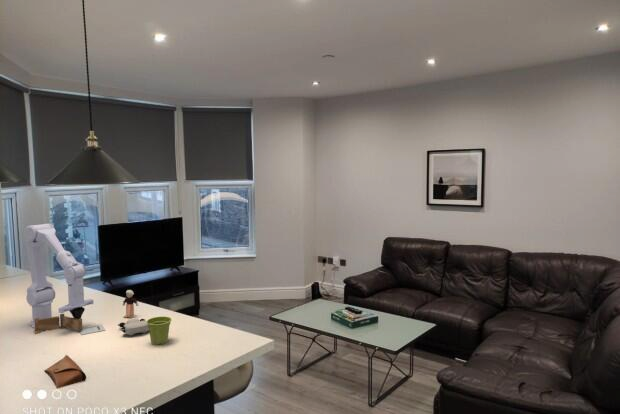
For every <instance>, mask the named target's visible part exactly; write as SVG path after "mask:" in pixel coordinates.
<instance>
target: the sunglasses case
mask: <svg viewBox="0 0 620 414" xmlns="http://www.w3.org/2000/svg"><path fill="white" fill-rule="evenodd" d="M43 371H44V373H46V374H47V375H48V376H49V377H50V378H51V380H52V381H53V383H54V384H55V387H56V389H61V388H65V387H68V386H71V385H75V384H78V383H82V382H85V381H86V379H87V375H86V373H85V372H84V371H83V369H82V368H81V367H80V366H79V365H78V364H77V363H76V362H75V360H73V359H72V358H71V357H70V356H69V355H67V354H65V355H64V357H62V358H61V359H60V360H58V361H57V362H55V363H54V364H52V365H51V366H48V367H47V368H46V369H45V370H44V369H43Z"/></svg>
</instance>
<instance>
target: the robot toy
mask: <svg viewBox="0 0 620 414" xmlns="http://www.w3.org/2000/svg"><path fill="white" fill-rule="evenodd" d="M146 321H147V320H146V318H141V319H139V318H135V317H134V318H129V319H128V320H126V321H125V322H119V323H117V327H120V328H121V329H120V331H121V332H123V333H124V334H126V335H127V336H133V335H135V334H139V333H141V334H143V333H144V334H145V333H147V332H148V331H149V327H148V324H147V323H146Z"/></svg>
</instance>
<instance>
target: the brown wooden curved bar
mask: <svg viewBox="0 0 620 414" xmlns="http://www.w3.org/2000/svg"><path fill="white" fill-rule="evenodd" d="M59 324H60V326H63V327H66V328H68V329H71V330H75V331H79V332H80V331H82V330H83V328H82V327H83V318H82V317H81V318H80V319H76V318H73V317H70V316H67V315H65V313H59Z"/></svg>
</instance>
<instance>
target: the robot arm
mask: <svg viewBox="0 0 620 414" xmlns="http://www.w3.org/2000/svg"><path fill="white" fill-rule="evenodd" d="M56 231H57V230H56V229H55V227H54V225H53V224H51V223H49V222H48V223H43V224H42V223H40V224H33V225H31V224H30V225H28V226H26V228H25V229H24V230H23V235H24V243H25V246H26V252H27V257H28V264H29V265H28V266H29V271H30V276H31V284H30V285H29V287H27V289H26V298H25V300H26V302H27V304H28V305H29V306H30V307H31V316H32V317H31V318H32V320H31V321H30V322H31V328H32V329H35V319H36V318H39V319H45V318H51V317H53V315H52V313H53V311H52V303H53V302H54V299H55V298H56V291H55V289H54V287H53V286H54V285H53V283H52V282H49V281H48V280H47V275H46V274H47V273H46V269H45V262H44V256H43V250H42V246H43V244H44V243H46V244H47V246H48V247H49V248H50V249H51V250H52V251H53V253H54V254H55V255H56V257H55V260H56V261H57V262H58V264H59V265H60V266H61V268H62V269H63V271H64V272H63V276H64V278H65V280H66V281H65V282H66V284H67V294H68V304H66V305H63V306H60V307H59V308H58V314H65V312H68V311H69V313H70V314H71V315H72V318H76V319H80V318H82V315H83V314H84V312H85V307H86V306H89V305H94V299H93V298H89V299H85V290H84V289H85V288H84V287H85V286H84V277H85V276H86V274H87V269H86V267H85V264H83V263H80V262H78V261H77V259H75V257H74V256H73V254H72V253H71V251H69V250H65V249H64V246H63V245H62V244H61V242H60V240H59V238H58V237H57V236H56Z"/></svg>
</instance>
